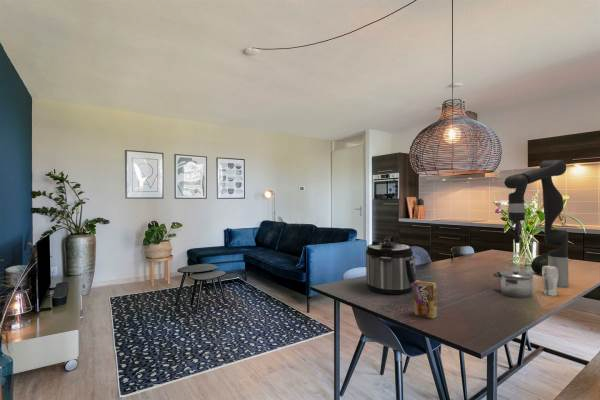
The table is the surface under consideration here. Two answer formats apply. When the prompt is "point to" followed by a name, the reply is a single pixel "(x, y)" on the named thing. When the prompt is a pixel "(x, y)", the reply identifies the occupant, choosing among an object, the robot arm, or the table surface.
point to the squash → (539, 263)
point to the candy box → (425, 299)
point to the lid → (515, 274)
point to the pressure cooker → (390, 267)
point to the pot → (515, 286)
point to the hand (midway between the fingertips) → (517, 242)
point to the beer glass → (550, 280)
